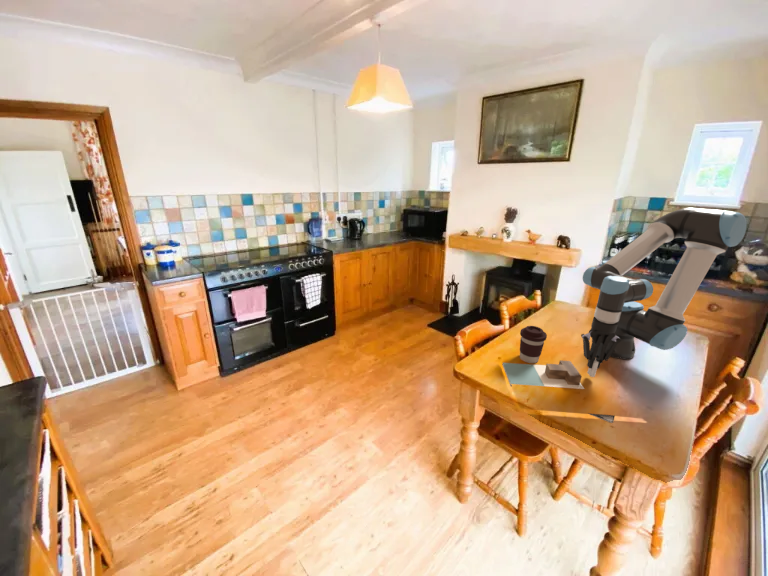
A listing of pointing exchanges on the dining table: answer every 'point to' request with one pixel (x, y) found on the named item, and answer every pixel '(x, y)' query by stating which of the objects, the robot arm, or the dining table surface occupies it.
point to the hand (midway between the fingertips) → (591, 374)
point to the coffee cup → (531, 343)
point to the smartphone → (604, 417)
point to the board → (533, 376)
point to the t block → (563, 372)
